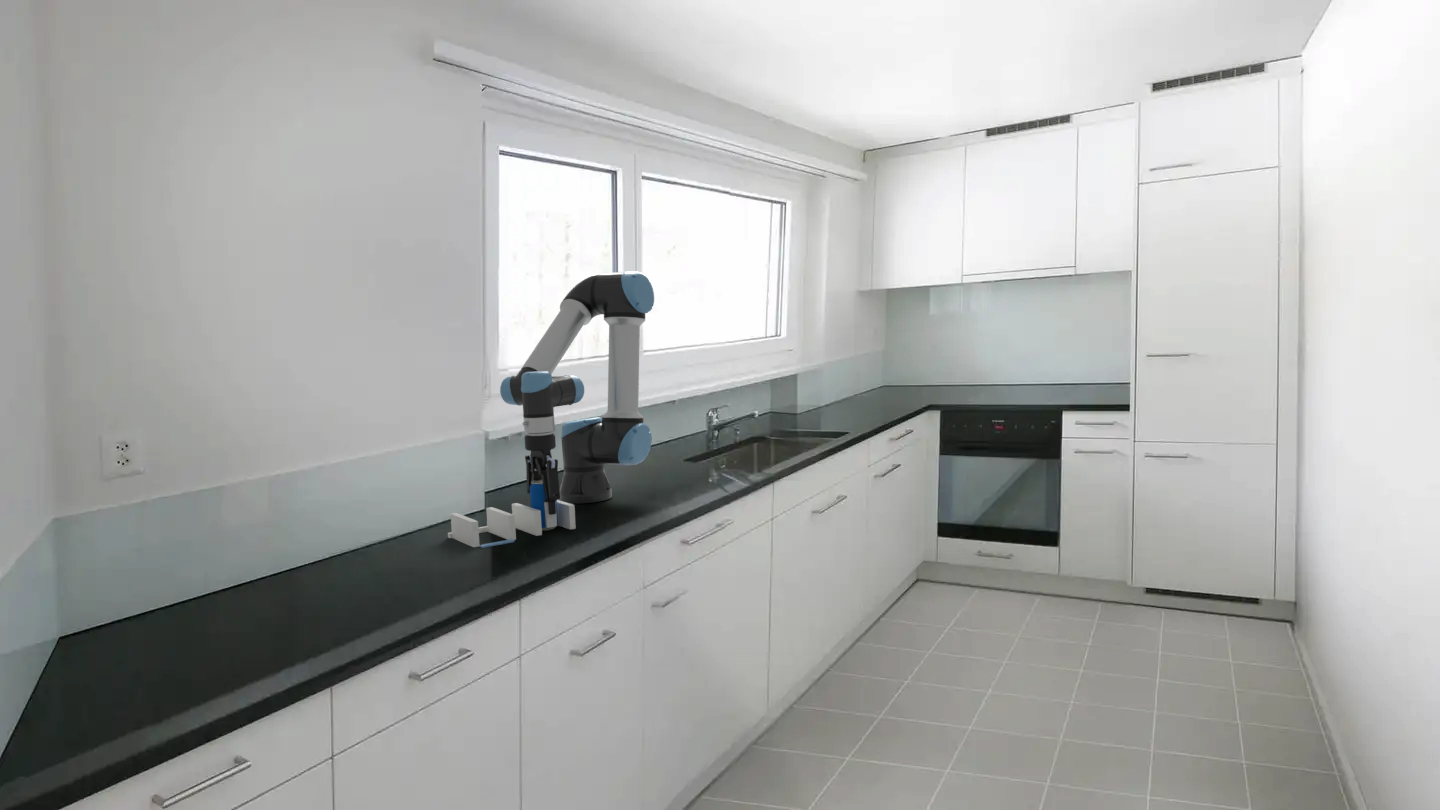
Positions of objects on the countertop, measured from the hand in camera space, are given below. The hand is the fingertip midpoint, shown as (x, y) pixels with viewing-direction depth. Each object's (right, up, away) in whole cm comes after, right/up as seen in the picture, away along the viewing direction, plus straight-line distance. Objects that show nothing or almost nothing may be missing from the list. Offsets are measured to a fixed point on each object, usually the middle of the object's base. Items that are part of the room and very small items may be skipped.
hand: (545, 524), depth 243 cm
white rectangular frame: (-7, -2, -4) cm, 8 cm away
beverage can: (0, -1, 0) cm, 1 cm away
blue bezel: (-9, -3, -15) cm, 18 cm away
